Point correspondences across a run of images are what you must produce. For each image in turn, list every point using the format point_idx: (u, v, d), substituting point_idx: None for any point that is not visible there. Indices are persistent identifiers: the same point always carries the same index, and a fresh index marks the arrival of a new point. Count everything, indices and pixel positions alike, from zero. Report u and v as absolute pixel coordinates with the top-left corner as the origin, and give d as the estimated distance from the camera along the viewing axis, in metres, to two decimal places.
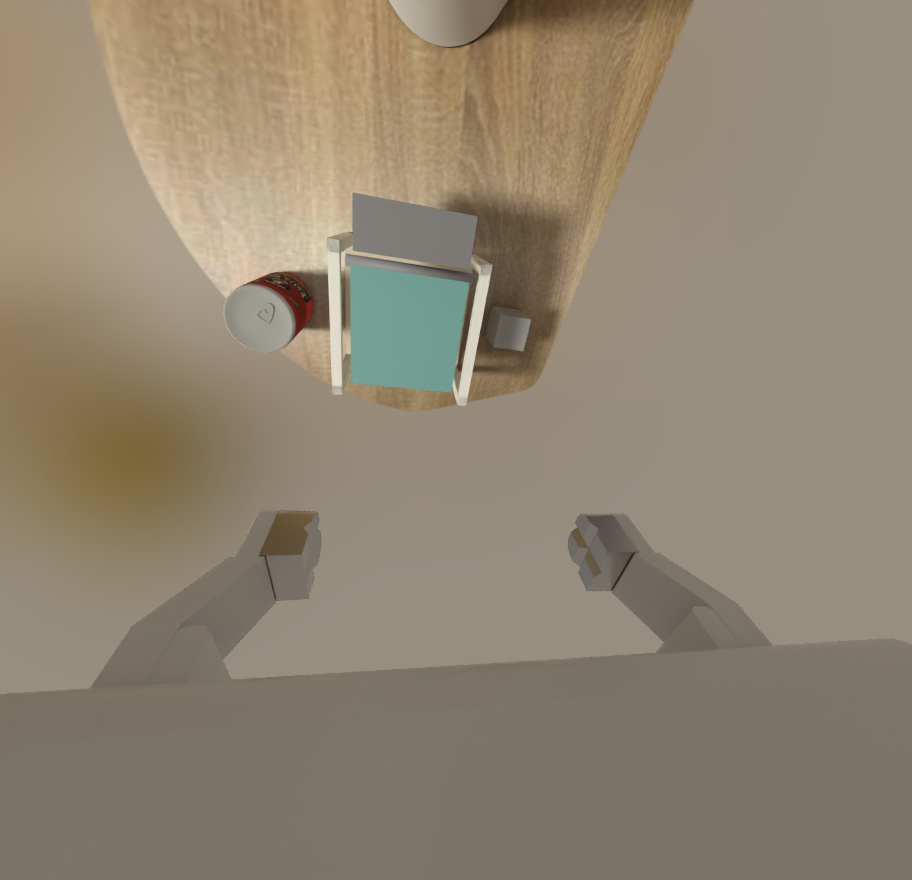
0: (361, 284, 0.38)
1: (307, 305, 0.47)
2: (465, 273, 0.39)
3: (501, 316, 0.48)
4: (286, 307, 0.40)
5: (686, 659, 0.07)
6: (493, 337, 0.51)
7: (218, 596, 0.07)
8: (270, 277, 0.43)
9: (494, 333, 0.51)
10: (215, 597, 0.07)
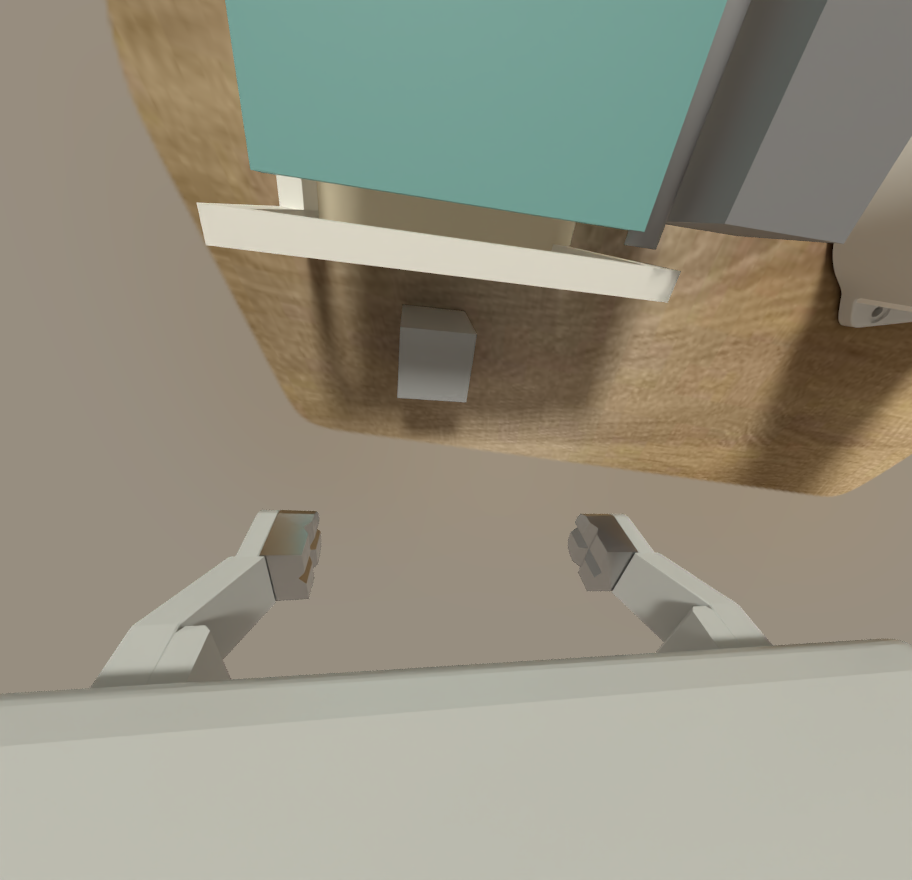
0: None
1: None
2: (666, 218, 0.13)
3: (474, 337, 0.21)
4: None
5: (686, 659, 0.07)
6: (419, 323, 0.22)
7: (218, 596, 0.07)
8: None
9: (429, 325, 0.22)
10: (215, 598, 0.07)
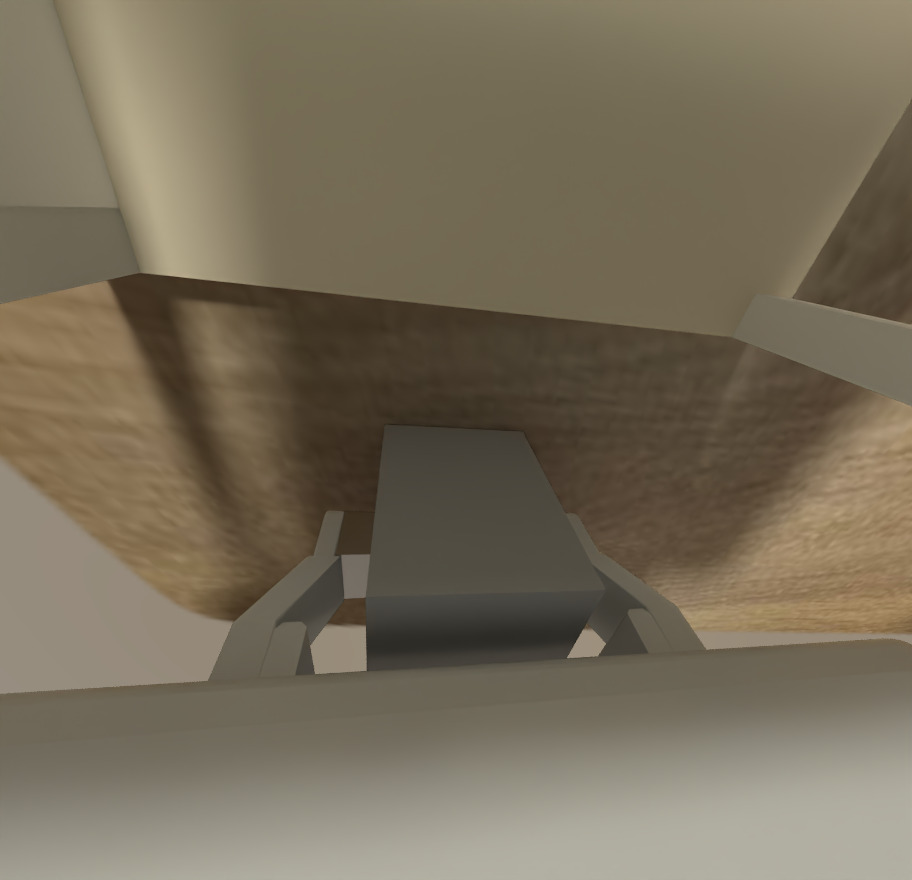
0: None
1: None
2: None
3: (595, 596, 0.07)
4: None
5: (686, 659, 0.07)
6: (427, 544, 0.07)
7: (305, 594, 0.07)
8: None
9: (457, 548, 0.07)
10: (303, 595, 0.07)
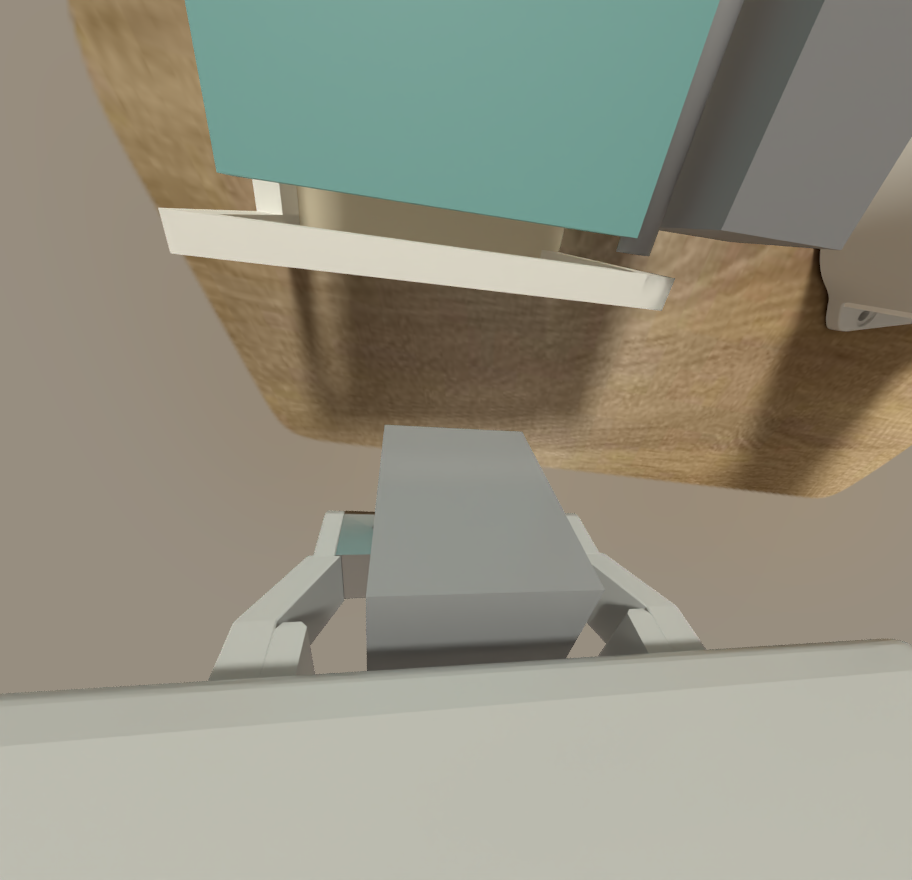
0: None
1: None
2: (660, 224, 0.13)
3: (594, 595, 0.07)
4: None
5: (686, 659, 0.07)
6: (427, 544, 0.07)
7: (305, 594, 0.07)
8: None
9: (457, 548, 0.07)
10: (303, 595, 0.07)
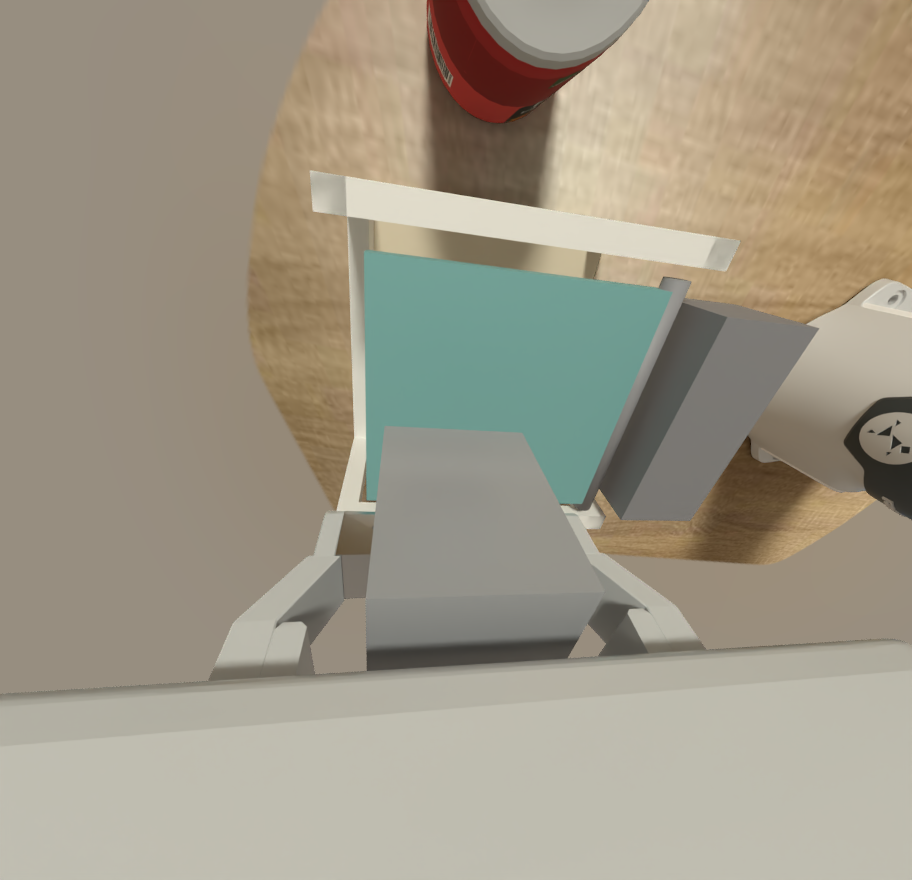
0: (626, 314, 0.16)
1: (512, 110, 0.18)
2: (594, 495, 0.23)
3: (595, 597, 0.07)
4: (597, 46, 0.12)
5: (686, 659, 0.07)
6: (427, 546, 0.07)
7: (306, 594, 0.07)
8: None
9: (457, 550, 0.07)
10: (303, 595, 0.07)
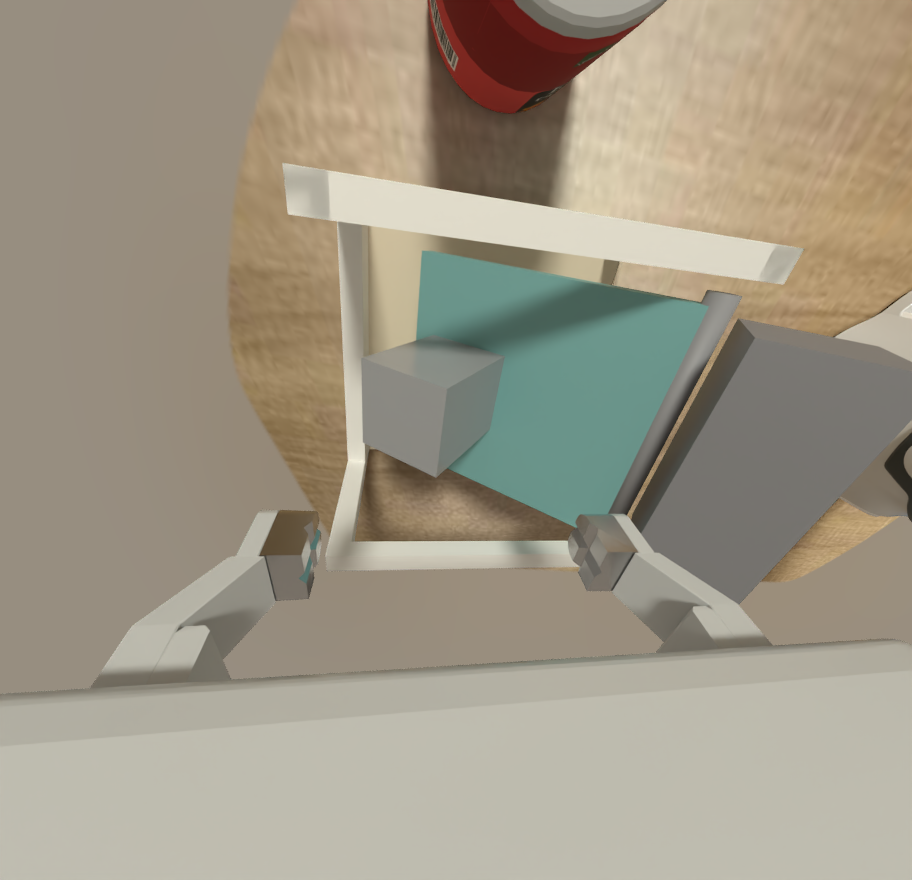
0: (646, 325, 0.15)
1: (527, 96, 0.16)
2: None
3: (443, 392, 0.14)
4: (642, 8, 0.10)
5: (686, 659, 0.07)
6: (397, 359, 0.16)
7: (218, 596, 0.07)
8: None
9: (406, 363, 0.16)
10: (215, 598, 0.07)
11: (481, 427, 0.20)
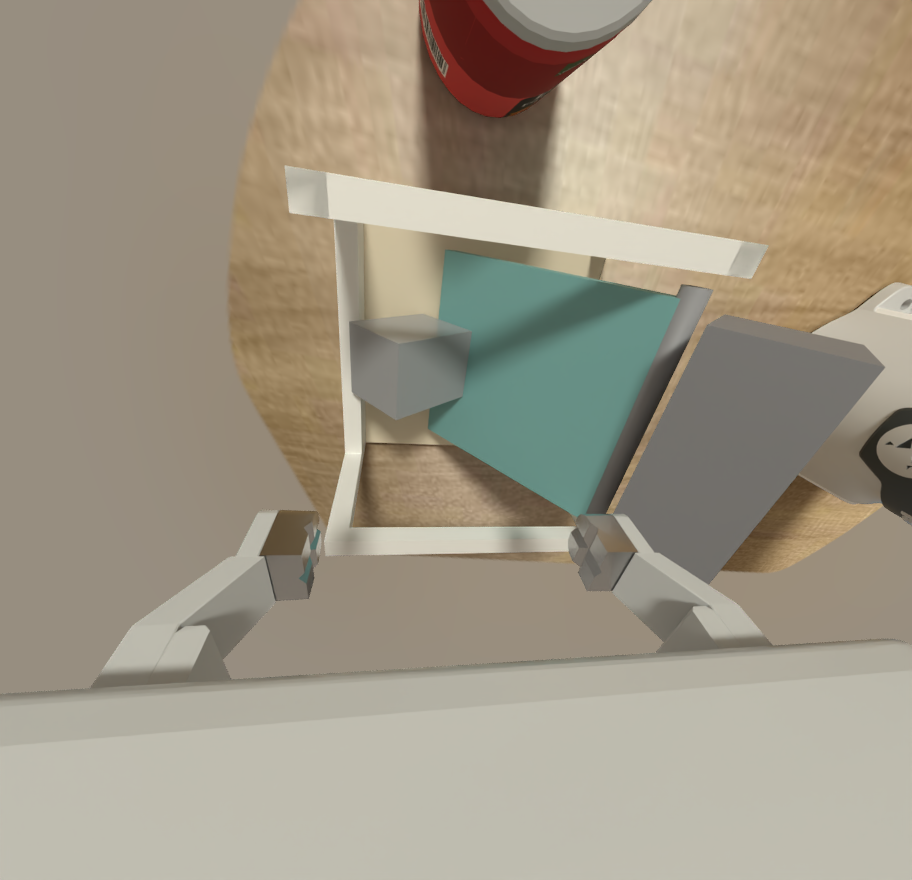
0: (626, 316, 0.16)
1: (513, 102, 0.17)
2: None
3: (396, 346, 0.18)
4: (613, 25, 0.11)
5: (686, 659, 0.07)
6: (376, 324, 0.21)
7: (218, 596, 0.07)
8: None
9: (381, 327, 0.20)
10: (215, 598, 0.07)
11: (450, 391, 0.23)
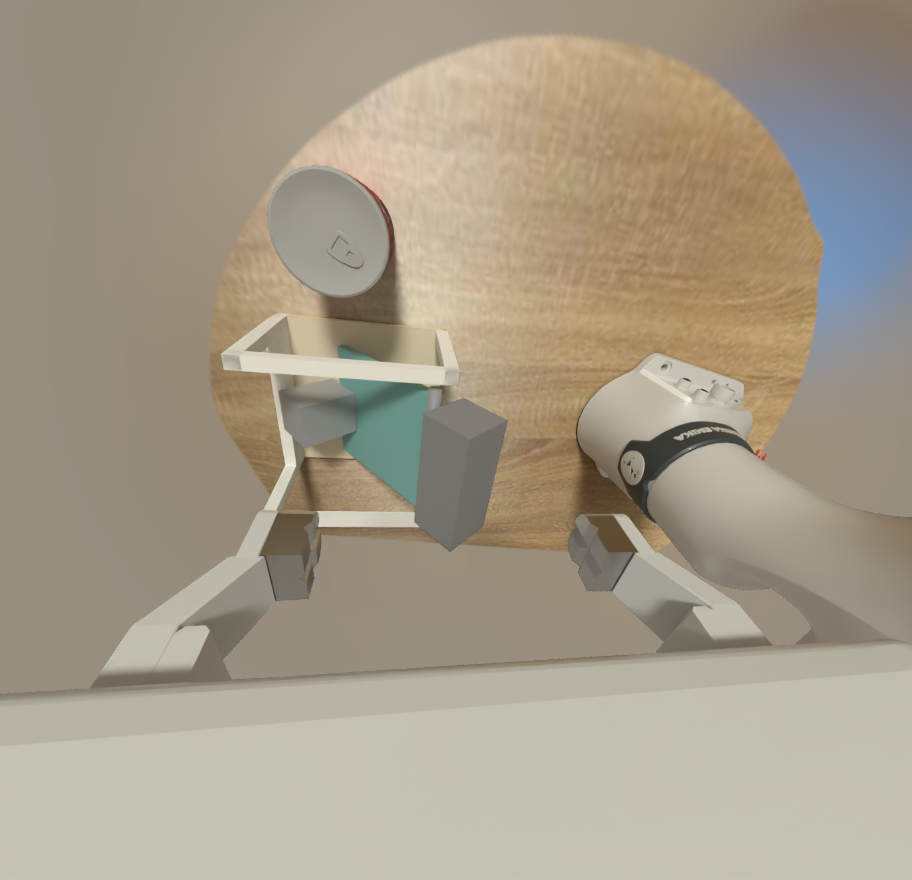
0: (412, 398, 0.31)
1: None
2: None
3: (299, 409, 0.33)
4: (361, 291, 0.25)
5: (686, 659, 0.07)
6: (294, 392, 0.36)
7: (218, 596, 0.07)
8: (392, 240, 0.29)
9: (296, 394, 0.35)
10: (215, 598, 0.07)
11: (344, 428, 0.38)
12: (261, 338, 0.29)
